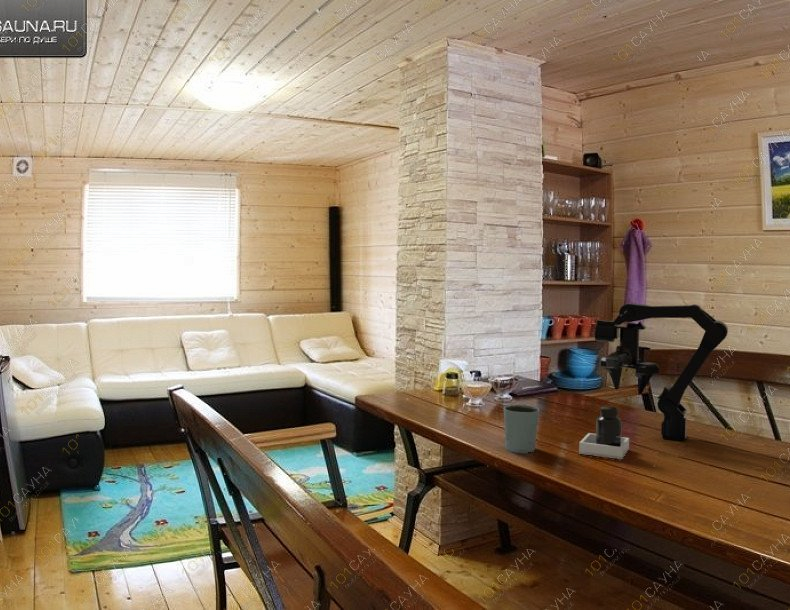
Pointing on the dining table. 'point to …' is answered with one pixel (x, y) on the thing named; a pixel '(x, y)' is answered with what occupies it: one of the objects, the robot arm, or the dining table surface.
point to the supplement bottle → (608, 427)
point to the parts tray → (602, 447)
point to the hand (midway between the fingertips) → (628, 391)
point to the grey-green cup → (520, 428)
